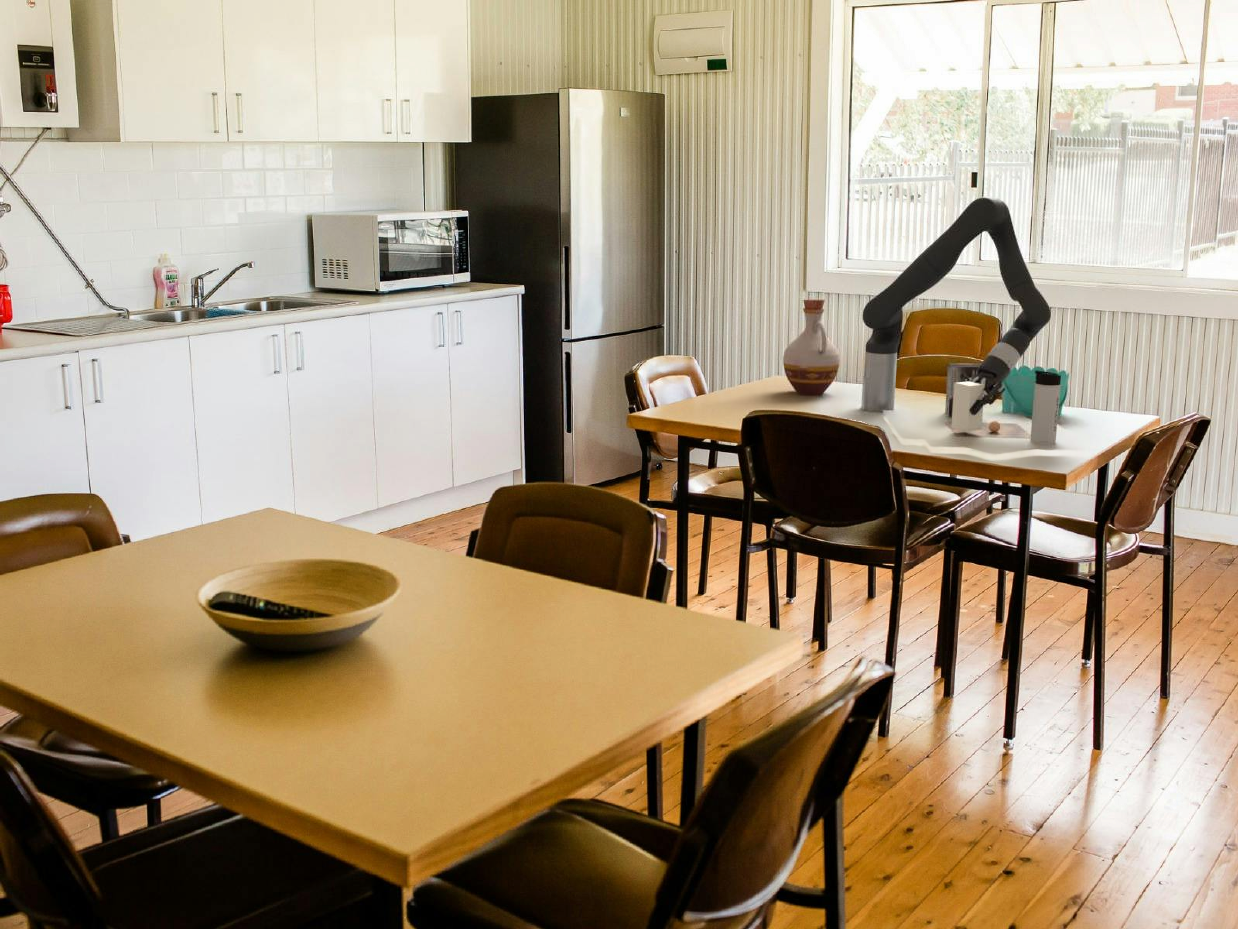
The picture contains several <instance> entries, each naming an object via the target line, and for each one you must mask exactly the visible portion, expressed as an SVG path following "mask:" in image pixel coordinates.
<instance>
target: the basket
mask: <svg viewBox="0 0 1238 929" xmlns="http://www.w3.org/2000/svg"><path fill="white" fill-rule="evenodd" d="M1035 370H1038V371H1045V372H1051V373H1056V374H1058V375H1061V381H1060V382H1061V386H1060V398H1059V409H1058V417H1061V416H1060V415H1062V411H1063V410H1062V409H1063V406H1064V403H1065V401H1066V399H1067V395H1068V388H1069V386H1068V384H1069V382H1068V381H1069V376H1070V372H1069V371H1068V372H1067V371H1066V370H1064V369H1063V370H1060V371H1059V372H1058V370H1057V369H1056V368H1055V367H1050V368H1047V369H1046V370H1045V369H1044V367H1042V366H1034V367H1032V369H1031V368H1030V366H1027V365H1022V366H1019V367H1018V368H1017V367H1016V366H1015V367H1014V368H1013V370H1012V371H1011V372H1010V374H1009V375H1008V376H1007V378H1006V379H1005V380H1004V381H1003V383H1002V384H1003V386H1004V387H1005V391H1004V392H1003V393H1002V394H1001V411H1002V413H1004V414H1022V415H1023V416H1024V417H1026V418H1031V419H1032V414H1033V402H1034V390H1035V381H1036V374H1035Z"/></svg>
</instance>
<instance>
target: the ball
mask: <svg viewBox="0 0 1238 929" xmlns="http://www.w3.org/2000/svg"><path fill="white" fill-rule="evenodd" d="M989 423H990V424H989V430H990V431H992V432H997V431H999V429H1000V424H999V423H1000V422H998V421H996V420H993V421H990V422H989Z"/></svg>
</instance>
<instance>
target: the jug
mask: <svg viewBox="0 0 1238 929" xmlns="http://www.w3.org/2000/svg"><path fill="white" fill-rule="evenodd" d="M825 301H826V300H825V299H815V298H814V299H803V300H802V302H803V304H804V305H803V306H804V308H802V310H803V313H804V318H805V328H804V330H803V331H802V332H801V333H800V334H799V335H798V336H797V337H796V338H795V339H794V340H793V341H792V342H790V343H789V344H788V345H787V347H786V348H785V349H784V353H783V356H782V362H783V363H782V364H783V369H784V373H785V376H786V379H787V380H788V382H789V383H790V385H791V386H792V388H793V389H794V391H795V392H796V393H797V394H798V395H801V396H821V395H823V394H824V393H825V392H826V391H827V389H829V388H830V386H831V385H832V383H833V382H834V381H835V378H836V376H837V374H838V372H839V368H840V363H841V356H840V352H839V350H838V347H836V345H835V344H833V342H832V341H831V340H830V339H829V338H828V337H827V332H826V329H825V328H826V327H825V326H824V323H823V322H822V317H823V314H824V312H825V308H824V304H825Z"/></svg>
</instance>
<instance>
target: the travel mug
mask: <svg viewBox="0 0 1238 929" xmlns="http://www.w3.org/2000/svg"><path fill="white" fill-rule="evenodd" d="M1035 374H1036V381H1035V390H1034V402H1033V414H1032V418H1031V426H1030V435H1031V438H1029V439H1030V442H1031V443H1033V444H1038V445H1039V444H1040V445H1054V444H1056V440H1057V431H1058V419H1059V418H1058V409H1059V398H1060V386H1061V382H1060V381H1061V375H1058V374H1056V373H1051V372H1046V370H1045V371H1038V370H1035Z"/></svg>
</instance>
